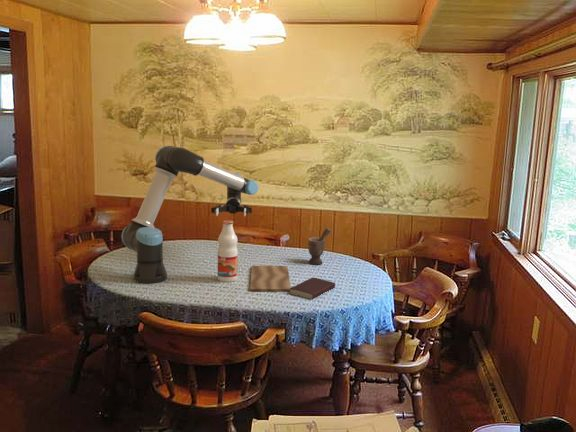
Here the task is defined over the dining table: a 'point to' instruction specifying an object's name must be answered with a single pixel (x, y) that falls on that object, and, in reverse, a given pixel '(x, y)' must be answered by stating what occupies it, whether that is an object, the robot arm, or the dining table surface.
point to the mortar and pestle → (317, 247)
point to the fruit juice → (227, 253)
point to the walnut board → (270, 279)
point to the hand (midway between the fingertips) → (230, 213)
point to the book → (312, 288)
